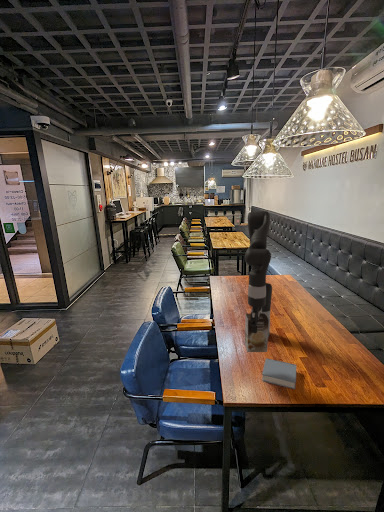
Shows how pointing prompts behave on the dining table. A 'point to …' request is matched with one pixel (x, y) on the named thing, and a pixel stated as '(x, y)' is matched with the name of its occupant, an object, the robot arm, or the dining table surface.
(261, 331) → the coffee box
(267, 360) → the book
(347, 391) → the dining table surface
